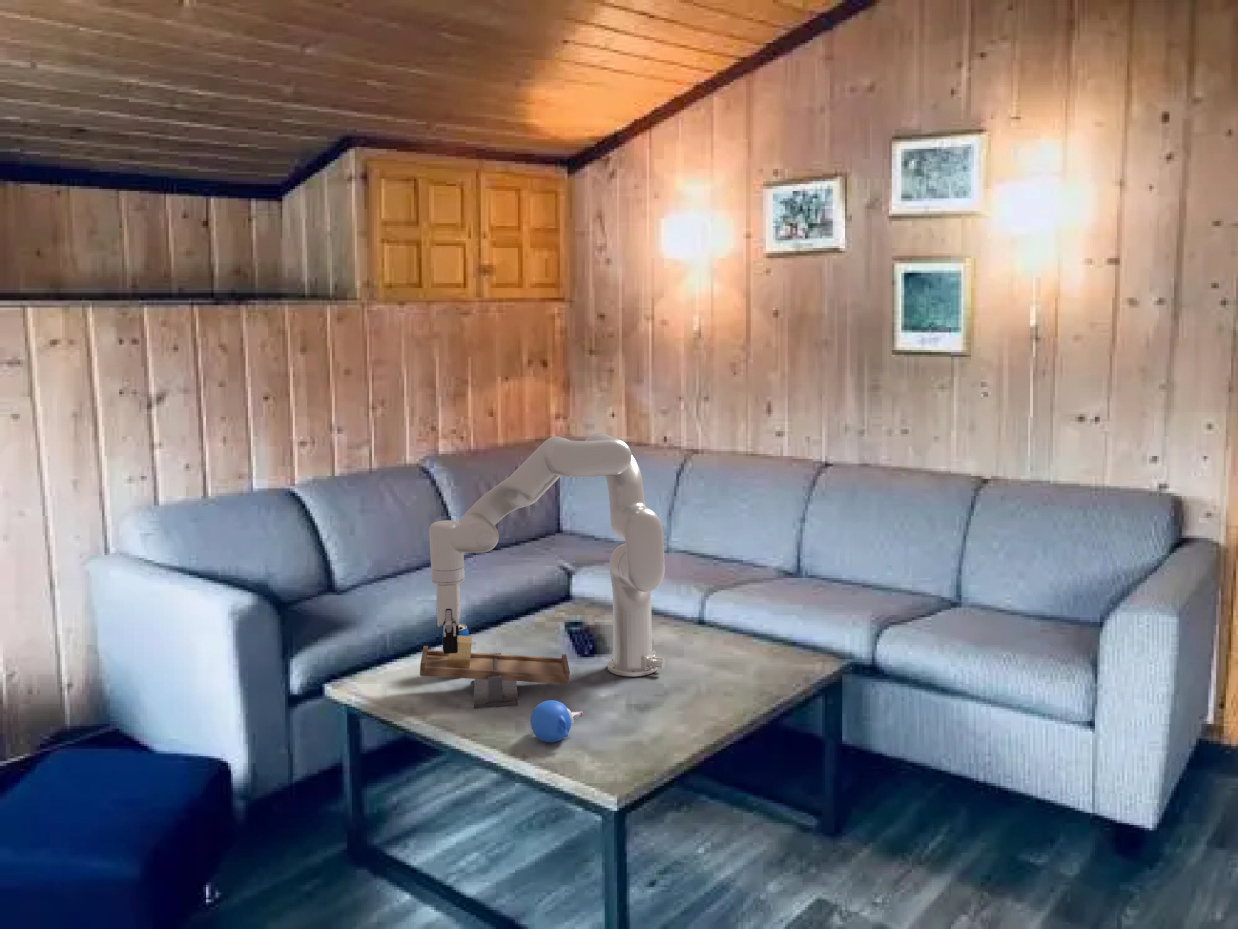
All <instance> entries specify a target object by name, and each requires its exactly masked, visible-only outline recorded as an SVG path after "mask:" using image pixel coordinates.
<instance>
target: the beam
mask: <svg viewBox="0 0 1238 929" xmlns="http://www.w3.org/2000/svg"><path fill="white" fill-rule="evenodd" d="M422 649H423V650H422V654H421V659H420V665H419V666H420V667H419V676H420V677H437V678H451V679H452V678H454V679H468V680H469V679H473V680H475V679H487V680H488V676H492V675H502V680H505V681H517V682H524V683H525V682H526V683H541V684H542V683H543V684H544V683H545V684H558V685H559V684H563V685H569V684H570V675H571V674H570V673H571V671H570V666H569V662H568V658H567V654H565V653H562V654H561V657H552V656H551V657H549V656H534V655H519V654H518V655H517V654H515V655H514V654H502V653H501V654H494V653H482V652H471V655H470V667H469V668H461V667H448V656H449V654H444V651H443V650H435V649H433V650H432V649H431V650H429V646H428V645H423V648H422Z"/></svg>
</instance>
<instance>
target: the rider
mask: <svg viewBox="0 0 1238 929" xmlns="http://www.w3.org/2000/svg"><path fill="white" fill-rule="evenodd" d="M456 636H457V644H458V652H457V653H450V654H449V656H448V667H461V668H469V667H470V655H471V653H472V642H473V641H472V639H473V636H472V635H469V636H460V635H456Z"/></svg>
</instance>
